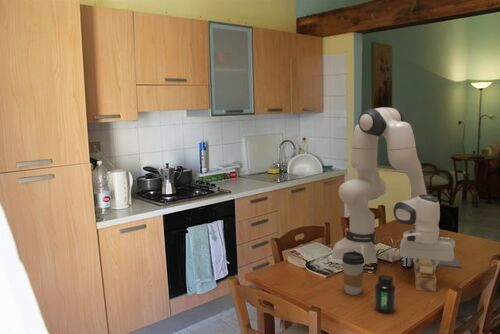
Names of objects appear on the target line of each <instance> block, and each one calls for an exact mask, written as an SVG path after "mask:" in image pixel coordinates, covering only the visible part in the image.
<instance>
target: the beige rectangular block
mask: <svg viewBox="0 0 500 334" xmlns="http://www.w3.org/2000/svg"><path fill="white" fill-rule="evenodd" d="M418 260H419V265H420V267H419V273H420V276H430V277H432V273H433V266H432V262H431V260H428V259H418Z"/></svg>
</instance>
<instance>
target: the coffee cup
mask: <svg viewBox="0 0 500 334" xmlns="http://www.w3.org/2000/svg"><path fill="white" fill-rule="evenodd" d="M342 261H343V265H342V266H343V267H342V268H343V269H342V273H343V274H342V275H343V276H342V277H343V286H344V292H345V293H346V294H347V295H350V296H358V295H360V294H361V292H362V286H363V280H364V279H363V277H364V267H363V266H364V257H363V255H362V254H361V253H358V252H346V253H344V256H343V259H342Z"/></svg>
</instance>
